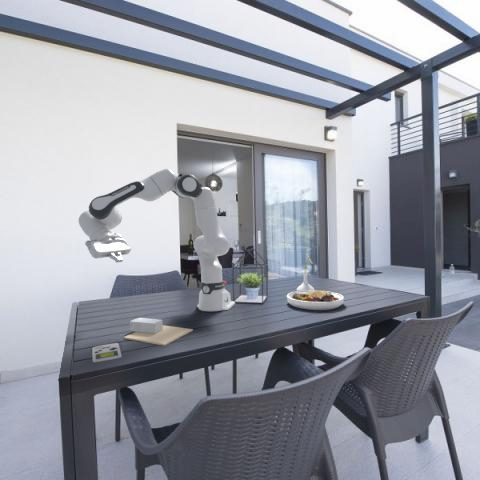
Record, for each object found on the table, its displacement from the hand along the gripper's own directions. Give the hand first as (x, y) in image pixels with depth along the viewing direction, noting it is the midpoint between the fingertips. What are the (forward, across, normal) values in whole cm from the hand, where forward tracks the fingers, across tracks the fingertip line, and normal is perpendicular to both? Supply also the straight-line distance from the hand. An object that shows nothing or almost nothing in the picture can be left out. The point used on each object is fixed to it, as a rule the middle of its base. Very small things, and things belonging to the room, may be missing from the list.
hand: (120, 261), depth 140 cm
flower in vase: (+65, +96, -21) cm, 118 cm away
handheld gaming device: (+34, -27, +7) cm, 44 cm away
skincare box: (+26, -5, +10) cm, 29 cm away
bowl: (+73, +66, -29) cm, 103 cm away
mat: (+38, -6, +3) cm, 38 cm away
